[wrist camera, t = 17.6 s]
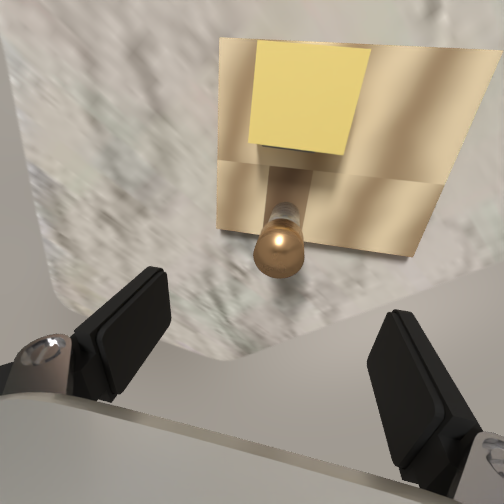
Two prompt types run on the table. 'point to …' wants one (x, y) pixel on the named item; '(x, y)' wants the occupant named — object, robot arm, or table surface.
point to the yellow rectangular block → (305, 95)
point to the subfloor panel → (354, 148)
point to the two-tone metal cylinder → (280, 243)
